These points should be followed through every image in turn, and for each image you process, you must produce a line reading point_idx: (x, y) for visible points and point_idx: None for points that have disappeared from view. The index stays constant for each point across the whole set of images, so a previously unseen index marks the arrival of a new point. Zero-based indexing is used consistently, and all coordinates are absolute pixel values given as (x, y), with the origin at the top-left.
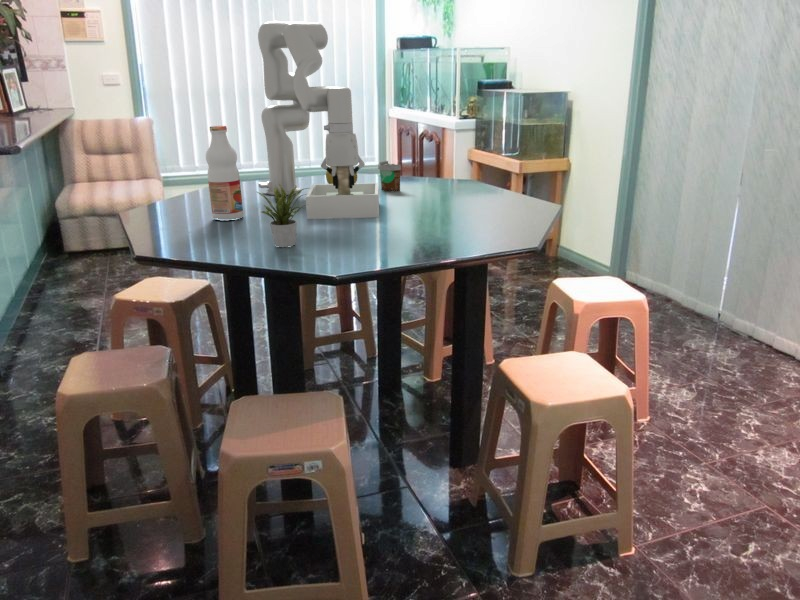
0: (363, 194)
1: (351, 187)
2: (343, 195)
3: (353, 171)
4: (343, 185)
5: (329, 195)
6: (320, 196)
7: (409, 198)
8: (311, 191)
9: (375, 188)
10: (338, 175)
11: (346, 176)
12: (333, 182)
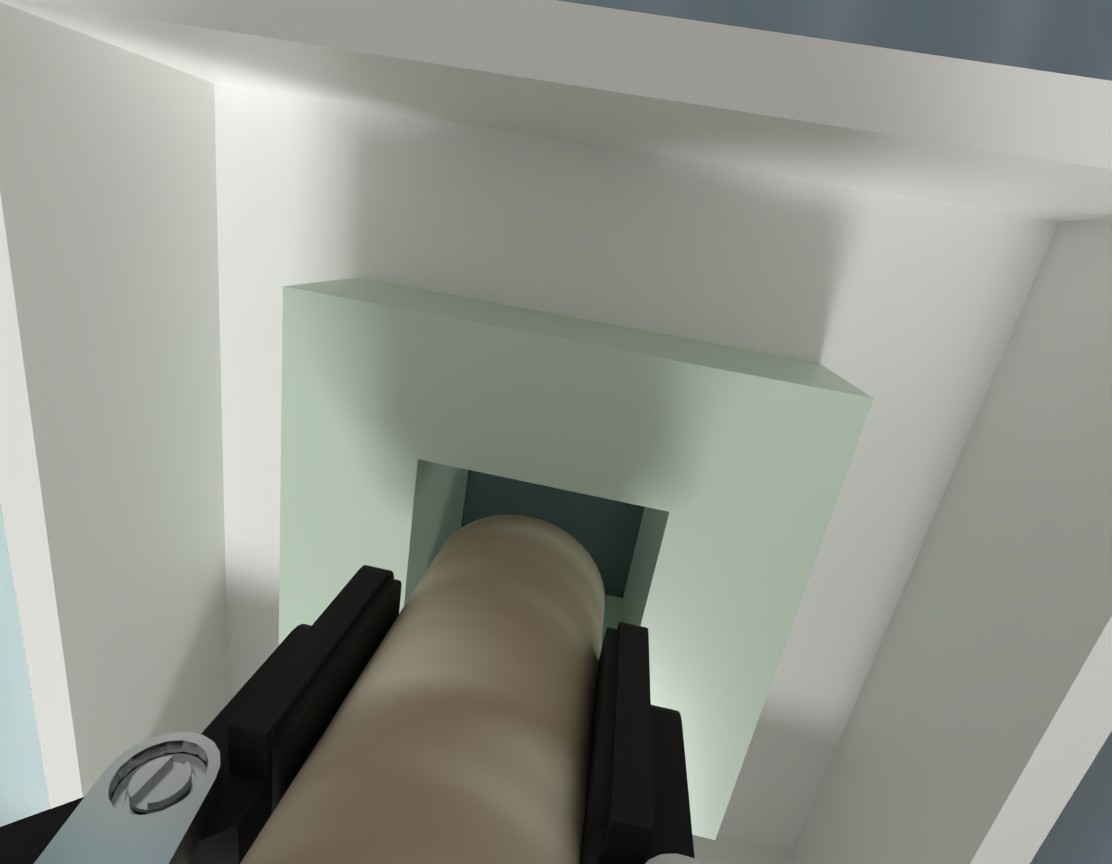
0: (174, 7)
1: (369, 567)
2: (574, 7)
3: (77, 833)
4: (495, 607)
5: (873, 103)
6: (1092, 84)
7: (12, 777)
8: (1085, 670)
9: (42, 539)
10: (548, 838)
11: (353, 743)
12: (675, 752)
